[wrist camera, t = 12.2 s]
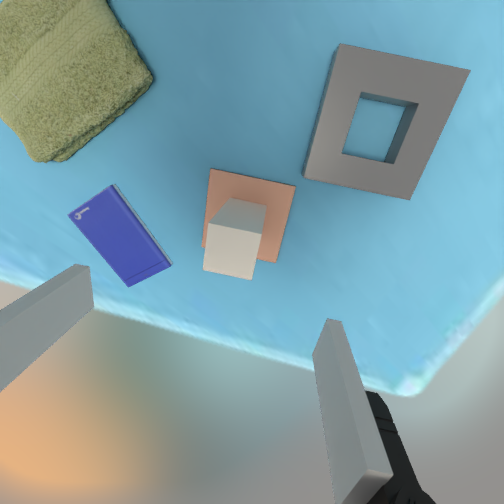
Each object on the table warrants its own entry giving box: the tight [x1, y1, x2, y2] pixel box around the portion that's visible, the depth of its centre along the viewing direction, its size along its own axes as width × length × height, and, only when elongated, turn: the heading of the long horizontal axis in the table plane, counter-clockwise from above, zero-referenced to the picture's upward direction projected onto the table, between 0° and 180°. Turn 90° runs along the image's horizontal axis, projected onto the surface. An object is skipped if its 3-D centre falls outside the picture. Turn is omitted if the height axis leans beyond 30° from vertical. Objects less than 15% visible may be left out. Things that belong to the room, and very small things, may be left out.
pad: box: [202, 168, 296, 263], centre depth 30 cm, size 10×10×1 cm
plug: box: [203, 198, 267, 280], centre depth 26 cm, size 4×4×10 cm
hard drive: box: [68, 184, 173, 287], centre depth 33 cm, size 2×8×12 cm
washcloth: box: [0, 0, 153, 163], centre depth 25 cm, size 13×18×3 cm
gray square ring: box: [302, 43, 471, 200], centre depth 24 cm, size 11×11×2 cm
